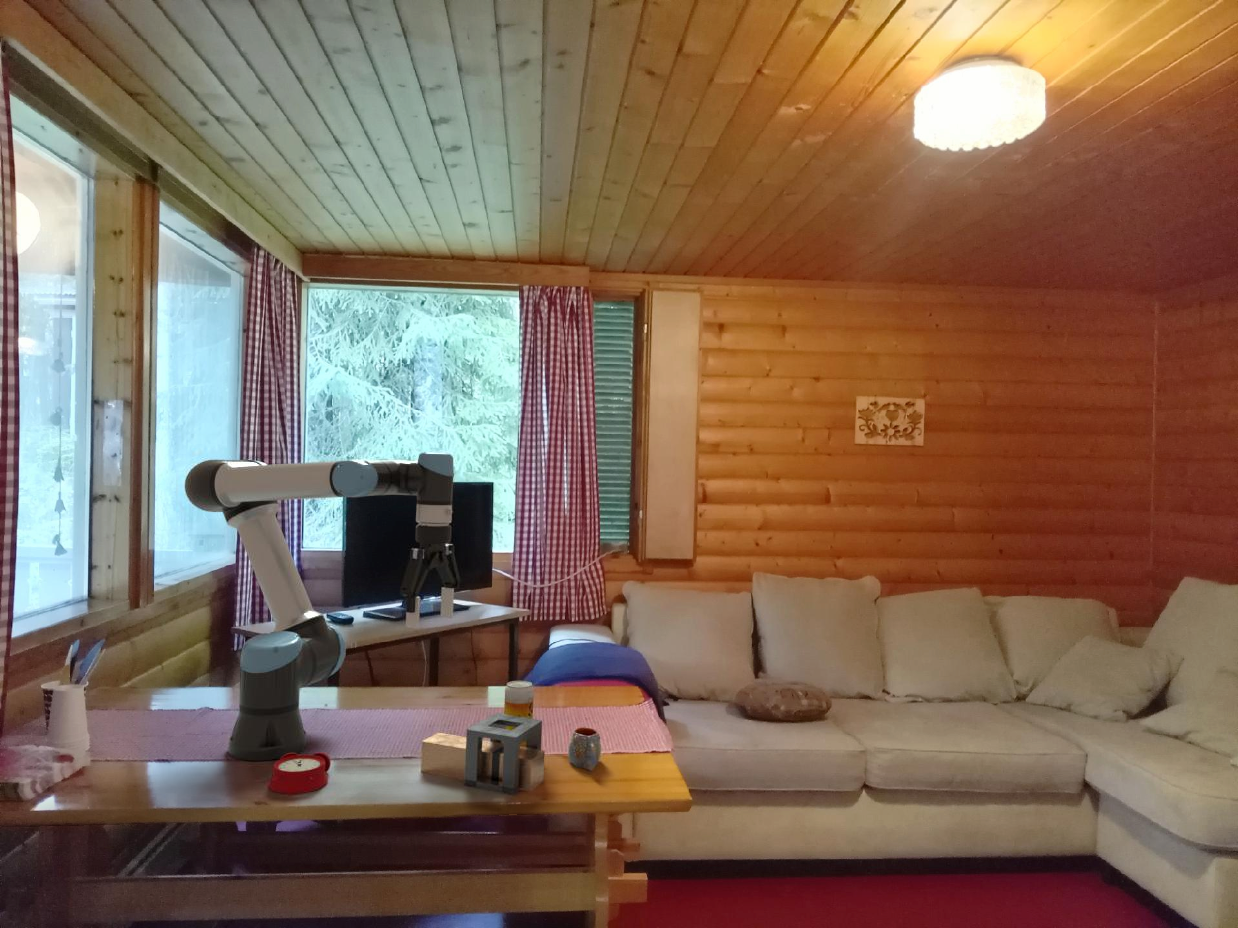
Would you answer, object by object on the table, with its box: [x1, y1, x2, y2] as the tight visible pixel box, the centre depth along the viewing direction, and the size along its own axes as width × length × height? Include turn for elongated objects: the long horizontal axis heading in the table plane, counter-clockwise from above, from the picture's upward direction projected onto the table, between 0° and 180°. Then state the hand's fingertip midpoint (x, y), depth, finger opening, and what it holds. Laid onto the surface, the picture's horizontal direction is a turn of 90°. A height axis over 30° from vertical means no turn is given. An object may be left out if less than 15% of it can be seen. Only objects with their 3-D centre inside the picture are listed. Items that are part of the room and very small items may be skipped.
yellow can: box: [503, 680, 535, 747], centre depth 181 cm, size 6×6×15 cm
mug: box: [567, 726, 602, 771], centre depth 176 cm, size 12×7×7 cm, turn 11°
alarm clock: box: [268, 751, 331, 796], centre depth 162 cm, size 10×6×15 cm
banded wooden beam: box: [420, 732, 545, 792], centre depth 168 cm, size 24×6×6 cm, turn 70°
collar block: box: [464, 712, 543, 796], centre depth 167 cm, size 10×12×11 cm
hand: (430, 622), depth 184 cm, fingers open, 13 cm apart
